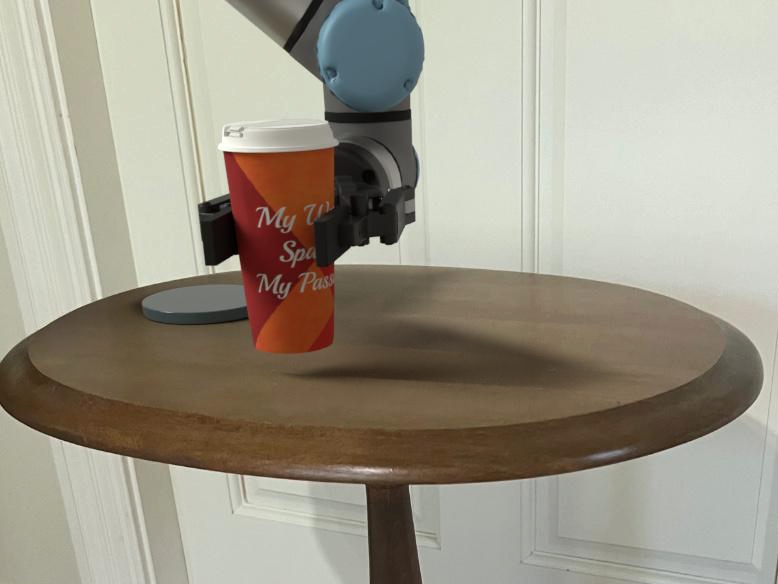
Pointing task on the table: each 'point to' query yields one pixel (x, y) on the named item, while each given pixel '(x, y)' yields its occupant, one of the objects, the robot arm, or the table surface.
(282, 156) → the paper cup
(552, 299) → the table surface
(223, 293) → the coaster
